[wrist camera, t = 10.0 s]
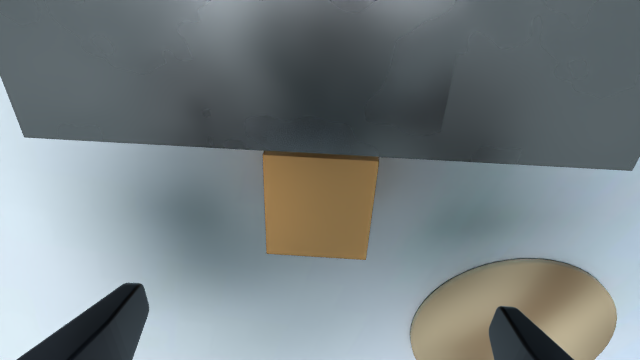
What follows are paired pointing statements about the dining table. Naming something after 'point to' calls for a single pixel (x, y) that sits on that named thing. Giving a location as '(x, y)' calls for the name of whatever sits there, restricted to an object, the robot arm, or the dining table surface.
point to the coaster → (526, 295)
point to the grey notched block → (334, 76)
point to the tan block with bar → (318, 203)
